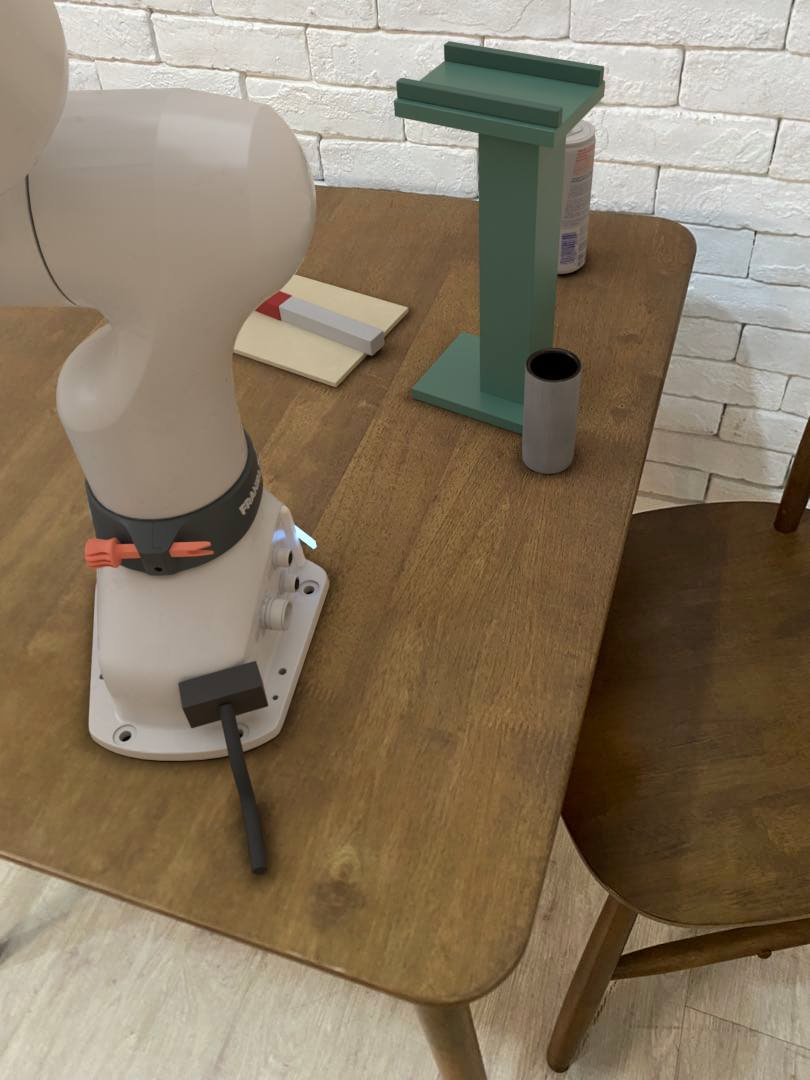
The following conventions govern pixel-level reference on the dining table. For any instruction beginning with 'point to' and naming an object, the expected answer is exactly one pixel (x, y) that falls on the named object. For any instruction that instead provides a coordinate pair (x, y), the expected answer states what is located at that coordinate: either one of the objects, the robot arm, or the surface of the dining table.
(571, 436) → the gray cylindrical cup
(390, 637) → the dining table surface
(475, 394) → the stand
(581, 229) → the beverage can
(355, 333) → the bar magnet
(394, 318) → the mat
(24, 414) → the dining table surface
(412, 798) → the dining table surface
